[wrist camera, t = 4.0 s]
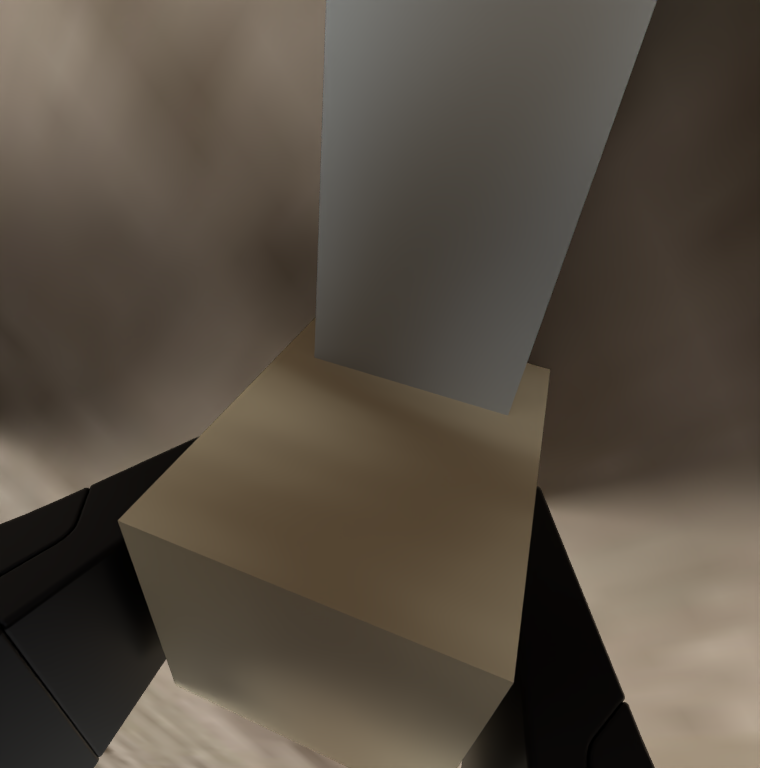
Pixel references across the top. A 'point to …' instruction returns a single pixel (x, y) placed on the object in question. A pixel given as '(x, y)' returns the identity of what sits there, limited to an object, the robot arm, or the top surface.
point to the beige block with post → (396, 391)
